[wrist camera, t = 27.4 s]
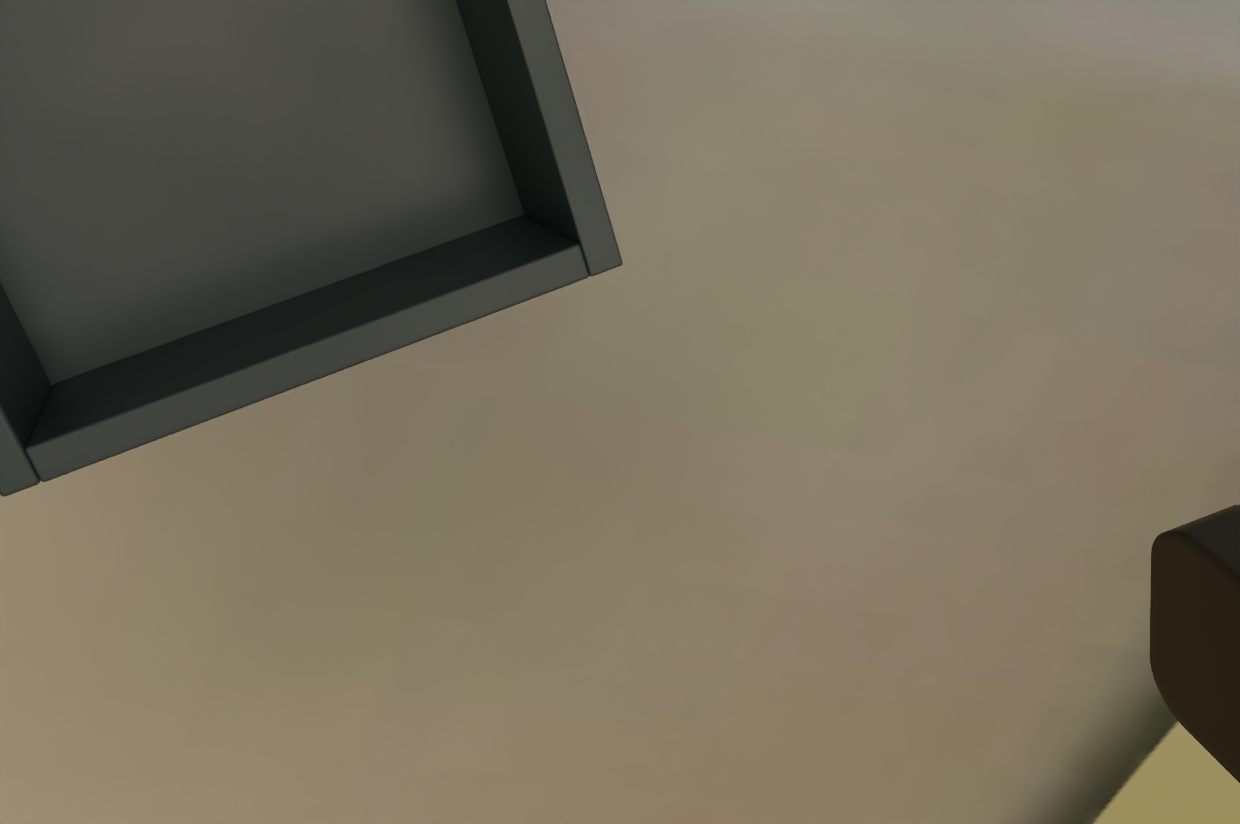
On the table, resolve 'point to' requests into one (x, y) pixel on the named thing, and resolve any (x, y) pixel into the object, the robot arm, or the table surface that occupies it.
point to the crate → (265, 201)
